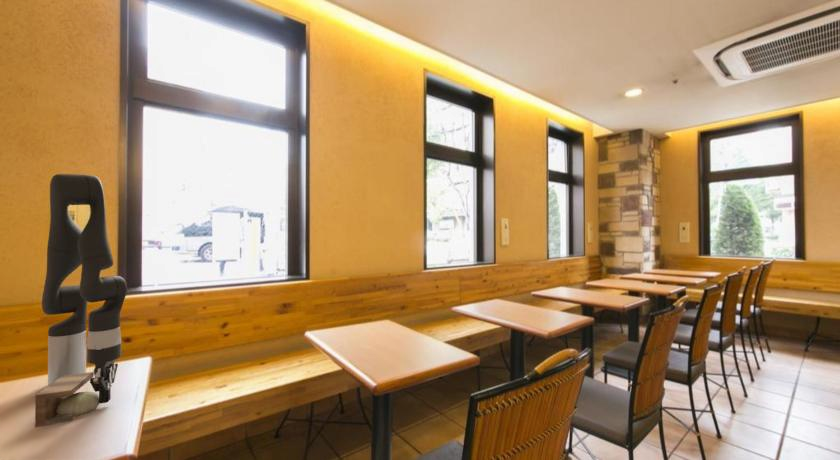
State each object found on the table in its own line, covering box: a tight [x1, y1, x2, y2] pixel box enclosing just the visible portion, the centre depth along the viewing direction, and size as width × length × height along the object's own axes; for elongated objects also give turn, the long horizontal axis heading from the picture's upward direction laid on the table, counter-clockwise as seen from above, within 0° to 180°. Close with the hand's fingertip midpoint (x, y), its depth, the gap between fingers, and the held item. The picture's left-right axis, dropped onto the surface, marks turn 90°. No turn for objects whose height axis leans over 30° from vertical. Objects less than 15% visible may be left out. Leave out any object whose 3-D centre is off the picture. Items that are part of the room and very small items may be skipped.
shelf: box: [34, 371, 94, 428], centre depth 101 cm, size 14×7×8 cm, turn 24°
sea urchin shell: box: [56, 390, 101, 417], centre depth 102 cm, size 9×8×8 cm
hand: (104, 401), depth 104 cm, fingers closed
